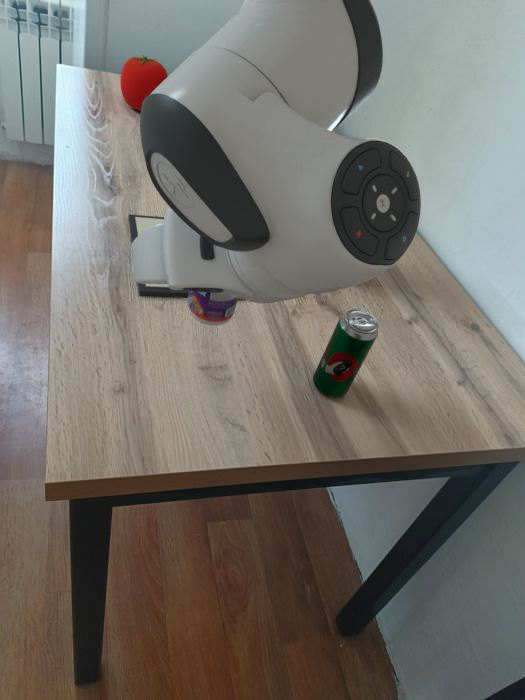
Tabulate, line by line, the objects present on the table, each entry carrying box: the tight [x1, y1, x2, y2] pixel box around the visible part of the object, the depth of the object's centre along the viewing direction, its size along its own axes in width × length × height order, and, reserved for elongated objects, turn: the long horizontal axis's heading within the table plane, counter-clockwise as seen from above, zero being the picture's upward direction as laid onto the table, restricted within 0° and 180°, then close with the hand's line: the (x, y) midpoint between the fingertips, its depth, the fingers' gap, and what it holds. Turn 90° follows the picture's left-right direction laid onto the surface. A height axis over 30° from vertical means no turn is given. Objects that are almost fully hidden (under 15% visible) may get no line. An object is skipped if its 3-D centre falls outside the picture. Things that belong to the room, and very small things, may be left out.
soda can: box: [312, 308, 379, 398], centre depth 69 cm, size 5×5×12 cm
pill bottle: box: [186, 291, 239, 326], centre depth 58 cm, size 5×5×10 cm
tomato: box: [119, 54, 169, 112], centre depth 119 cm, size 10×11×11 cm
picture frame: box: [127, 213, 240, 300], centre depth 86 cm, size 16×20×1 cm
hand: (217, 271), depth 58 cm, fingers closed on pill bottle, 5 cm apart
